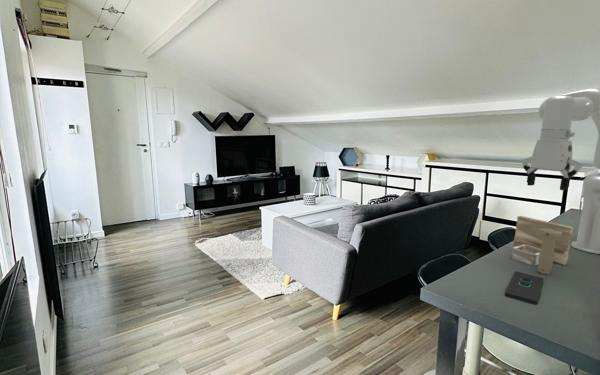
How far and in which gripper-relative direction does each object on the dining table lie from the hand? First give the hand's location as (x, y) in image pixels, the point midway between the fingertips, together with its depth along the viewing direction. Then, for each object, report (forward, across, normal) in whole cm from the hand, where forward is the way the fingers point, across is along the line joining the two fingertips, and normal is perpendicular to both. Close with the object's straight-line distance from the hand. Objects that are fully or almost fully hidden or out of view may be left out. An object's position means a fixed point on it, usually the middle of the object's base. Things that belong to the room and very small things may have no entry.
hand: (546, 187), depth 111 cm
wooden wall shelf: (+29, +7, -12) cm, 32 cm away
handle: (+30, -2, -2) cm, 30 cm away
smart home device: (+31, -6, +16) cm, 35 cm away
